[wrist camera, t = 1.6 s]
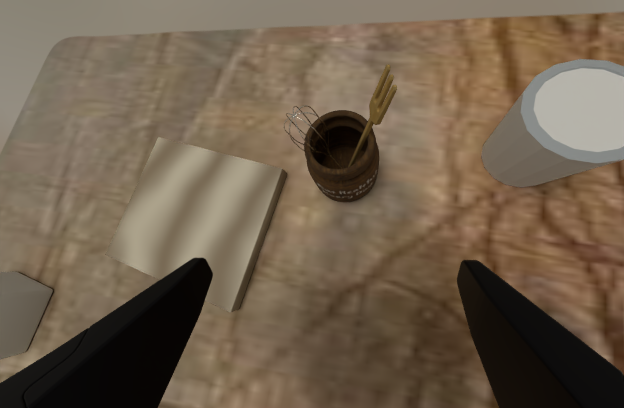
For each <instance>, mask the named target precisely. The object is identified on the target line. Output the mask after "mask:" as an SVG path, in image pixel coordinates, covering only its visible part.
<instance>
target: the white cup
mask: <svg viewBox="0 0 624 408" xmlns="http://www.w3.org/2000/svg"><path fill="white" fill-rule="evenodd" d="M481 157H482V161H483V164H484V167H485V169H486V170H487V171H488V172H489V173H490V175H491V176H492V177H493V178H495V179H496V180H498V181H500V182H502V183H504V184H505V185H510V186H515V187H521V188H522V187H528V186H535V185H539V184H543V183H546V182H549V181H553V180H556V179H560V178H563V177H566V176H570V175H573V174H577V173H580V172H583V171H587V170H590V169H594V168H597V167H601V166H604V165H607V164H611V163H614V162H618V161H621V160H624V67H623V66H621V65H618V64H615V63H612V62H609V61H602V60H585V59H579V60H574V61H570V62H565V63H561V64H556V65H554V66H552V67H551V68H549V69H547V70H545V71H544V72H542V73H540V74H539V75H537V76H535V78H534V79H533V80H532V82H531V83H530V84H529V86H528V87H527V88H526V89H525V91H524V92H523V93H522V95H521V96H520V97H519V99H518V100H517V101H516V103H515V104H514V105H513V107H512V108H511V109H510V110H509V112H508V113H507V114H506V116H505V117H504V118H503V120H502V121H501V122H500V124H499V125H498V126H497V127H496V129H495V130H494V131H493V133H492V134H491V135H490V137H489V138H488V139H487V141H486V142H485V143H484V145H483V149H482V155H481Z"/></svg>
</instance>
